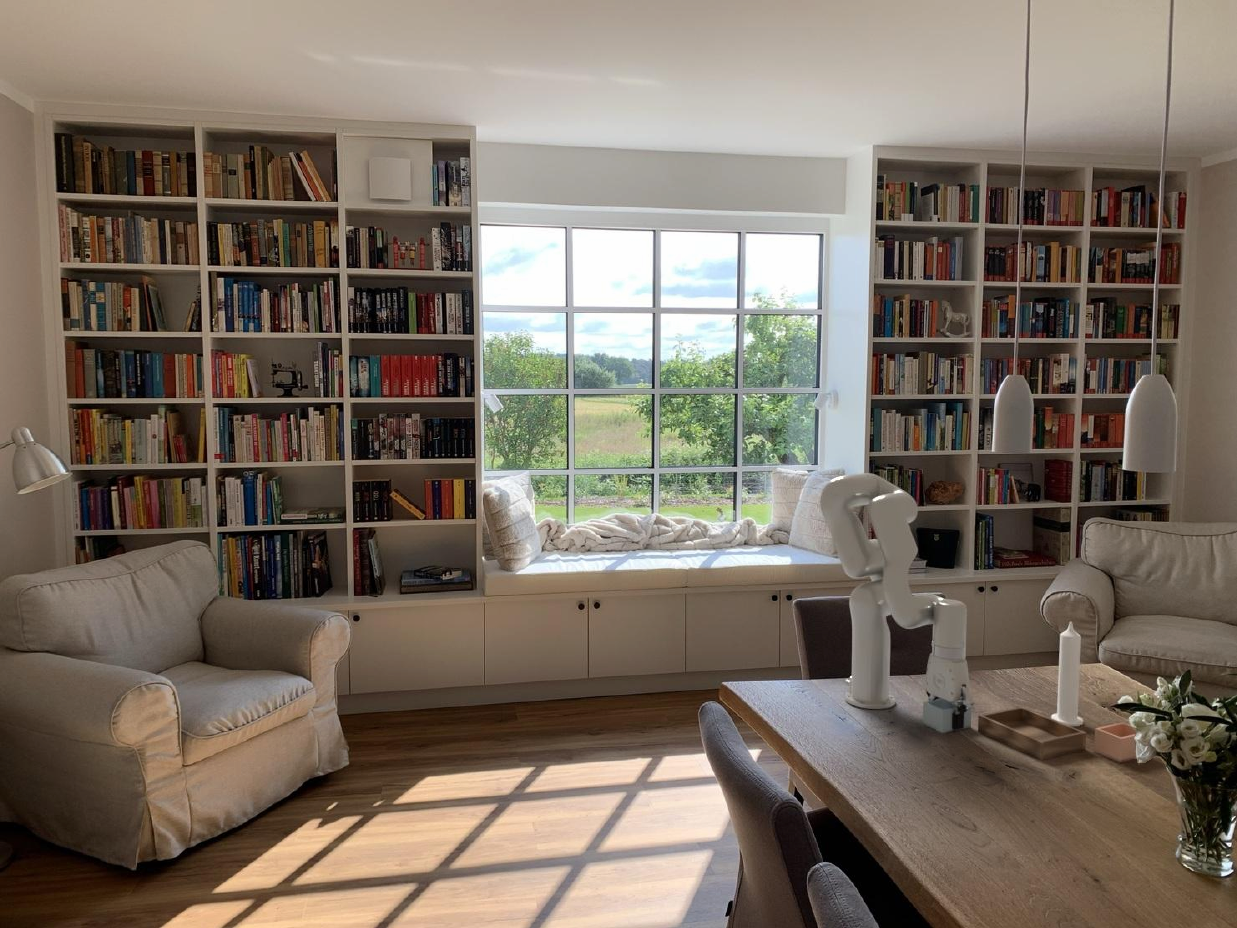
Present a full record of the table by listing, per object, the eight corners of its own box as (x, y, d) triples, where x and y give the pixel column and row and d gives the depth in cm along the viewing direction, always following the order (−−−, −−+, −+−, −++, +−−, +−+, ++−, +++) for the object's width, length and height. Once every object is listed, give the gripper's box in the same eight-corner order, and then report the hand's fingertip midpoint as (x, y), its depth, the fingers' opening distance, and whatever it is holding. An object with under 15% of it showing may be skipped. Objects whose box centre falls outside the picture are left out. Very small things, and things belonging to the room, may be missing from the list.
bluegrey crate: (922, 723, 218) (923, 701, 218) (950, 718, 222) (951, 696, 222) (942, 733, 212) (942, 710, 212) (970, 727, 216) (971, 705, 216)
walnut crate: (977, 731, 213) (978, 715, 213) (1020, 722, 219) (1021, 706, 219) (1040, 760, 197) (1041, 742, 197) (1085, 749, 203) (1086, 732, 202)
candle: (1076, 728, 215) (1080, 627, 213) (1046, 720, 220) (1050, 621, 218) (1087, 721, 219) (1092, 621, 217) (1058, 713, 225) (1062, 616, 223)
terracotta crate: (1093, 752, 201) (1094, 728, 201) (1121, 745, 205) (1122, 722, 204) (1120, 763, 195) (1121, 738, 195) (1148, 756, 199) (1149, 732, 198)
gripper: (911, 643, 222) (909, 713, 224) (964, 663, 206) (961, 738, 208) (934, 640, 225) (932, 709, 227) (988, 659, 209) (986, 733, 211)
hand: (946, 722), depth 217 cm, fingers closed on bluegrey crate, 6 cm apart
